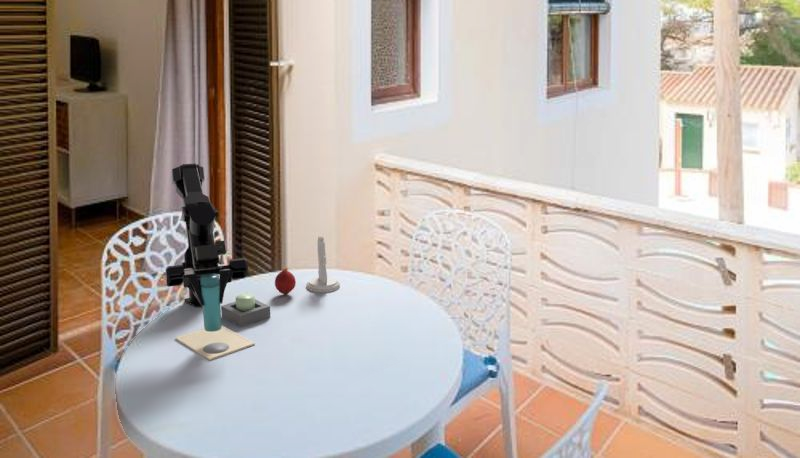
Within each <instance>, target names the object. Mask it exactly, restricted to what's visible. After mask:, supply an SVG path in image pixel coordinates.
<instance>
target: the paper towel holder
mask: <svg viewBox="0 0 800 458" xmlns="http://www.w3.org/2000/svg"><path fill="white" fill-rule="evenodd" d="M325 243H326V242H325V240H324V236H323V235H319V236H318V237H317V258H318V259H317V260H318V271H317V272H318V276H314V277H312V278H310V279H309V280H308V281H307V282H306V284H305V286H306V290H308V291H310V292H315V293H330V292H334V291H337V290H339V289H340V287H341V284H340V281H339V280H338V278H336V277H333V276H329V275H328V273H327V255H326V254H327V253H326V244H325Z"/></svg>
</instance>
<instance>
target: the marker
mask: <svg viewBox="0 0 800 458" xmlns="http://www.w3.org/2000/svg"><path fill="white" fill-rule="evenodd" d="M219 278H220V276H219V274H204V275H202V276H200V282H201V289H202V298H203V306H202V314H203V329H204V330H205V331H209V332H213V331H218V330H220V329H221V328H222V326H223V325H222V324H223V323H222V312H221V304H220V293H219Z"/></svg>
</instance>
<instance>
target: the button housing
mask: <svg viewBox="0 0 800 458" xmlns="http://www.w3.org/2000/svg"><path fill="white" fill-rule="evenodd" d="M220 309H221V318H223V319H226V320H227V321H230V322H231V323H233V324H235V325H236V326H239V327H243V326H248V325H250V324H253V323H256V322H260V321H263V320H265V319H269V318H271V306H270V305H268V304H267V303H264V302H261V301H259V300H257V299H255V309H251V310H248V311H245V312H240V311H238V310H236V301H233V302H229V303H226V304H221V305H220Z"/></svg>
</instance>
